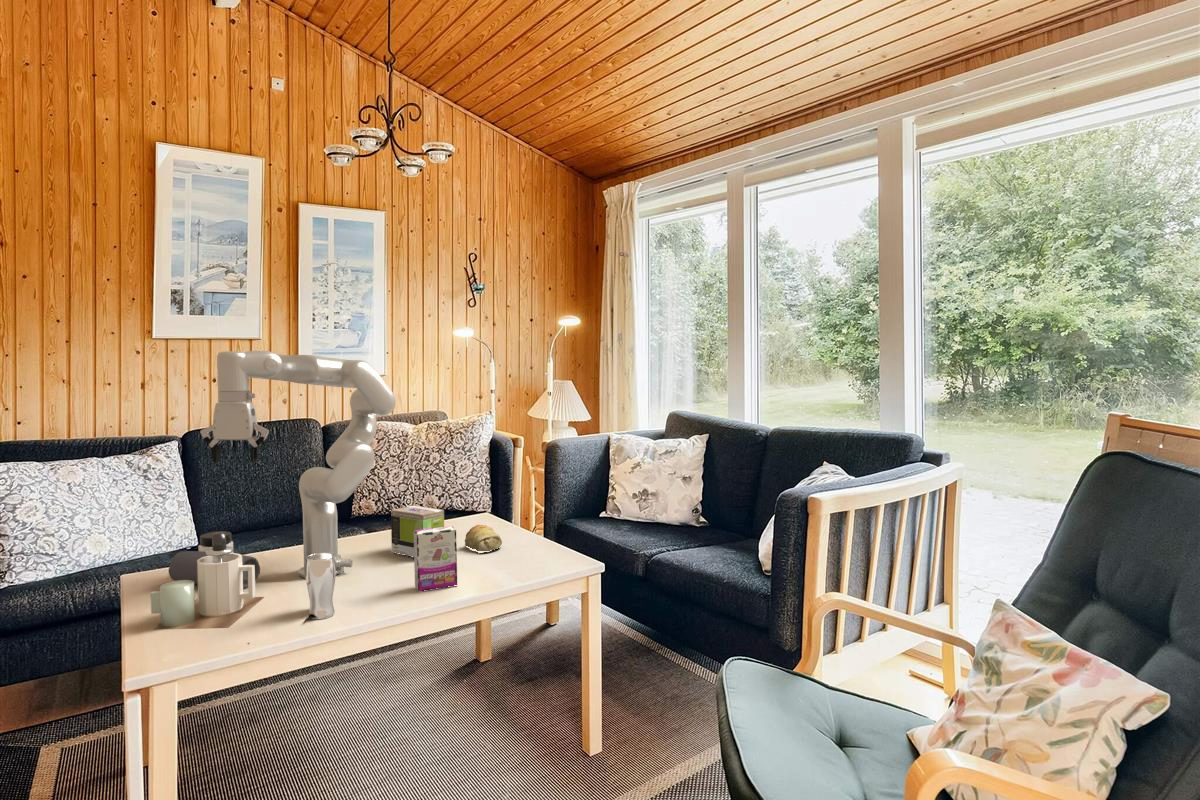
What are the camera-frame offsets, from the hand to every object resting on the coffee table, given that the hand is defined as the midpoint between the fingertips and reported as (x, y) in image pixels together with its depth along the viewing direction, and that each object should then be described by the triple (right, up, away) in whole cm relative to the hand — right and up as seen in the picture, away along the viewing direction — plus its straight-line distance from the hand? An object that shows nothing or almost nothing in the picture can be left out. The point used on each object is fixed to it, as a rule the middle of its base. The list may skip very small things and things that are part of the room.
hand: (235, 461), depth 187 cm
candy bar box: (+51, -36, +9) cm, 64 cm away
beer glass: (+28, -38, -13) cm, 48 cm away
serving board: (+2, -37, -14) cm, 40 cm away
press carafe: (+5, -36, -12) cm, 38 cm away
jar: (-16, -35, +19) cm, 43 cm away
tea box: (+38, -34, +42) cm, 66 cm away
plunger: (+3, -33, -13) cm, 36 cm away
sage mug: (-4, -36, -21) cm, 42 cm away
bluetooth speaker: (-10, -36, +7) cm, 38 cm away
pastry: (+58, -34, +49) cm, 83 cm away
